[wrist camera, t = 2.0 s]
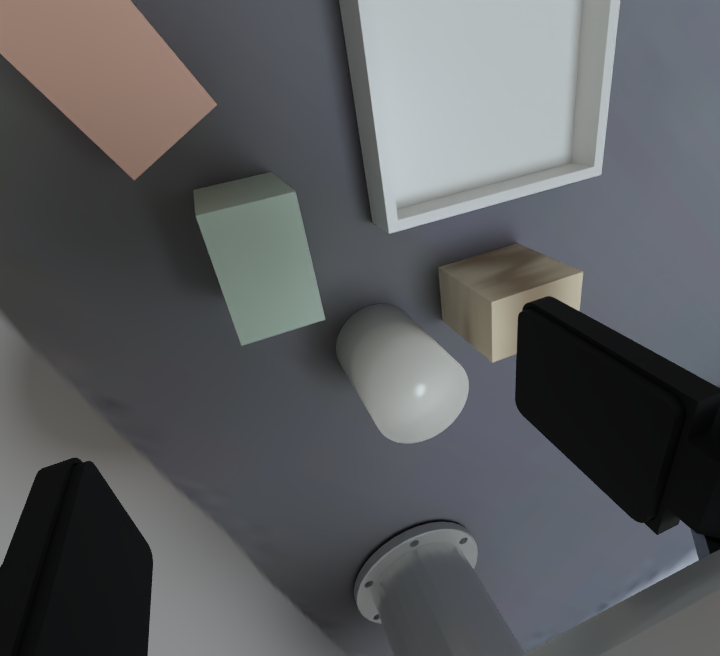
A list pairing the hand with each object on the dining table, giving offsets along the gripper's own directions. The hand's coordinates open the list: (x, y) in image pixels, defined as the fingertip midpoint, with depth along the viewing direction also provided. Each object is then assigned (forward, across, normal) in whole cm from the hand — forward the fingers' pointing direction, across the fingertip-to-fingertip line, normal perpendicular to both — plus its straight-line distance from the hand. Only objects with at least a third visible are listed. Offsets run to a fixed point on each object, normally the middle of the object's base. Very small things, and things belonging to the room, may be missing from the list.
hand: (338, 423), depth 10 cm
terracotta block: (+17, +3, -8) cm, 19 cm away
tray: (+17, -14, -5) cm, 23 cm away
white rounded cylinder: (+17, -6, +10) cm, 20 cm away
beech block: (+17, -14, +8) cm, 23 cm away
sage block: (+17, 0, +1) cm, 17 cm away
